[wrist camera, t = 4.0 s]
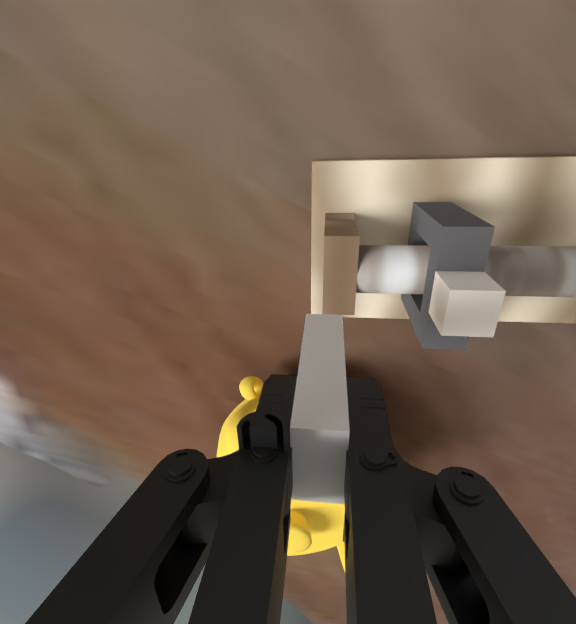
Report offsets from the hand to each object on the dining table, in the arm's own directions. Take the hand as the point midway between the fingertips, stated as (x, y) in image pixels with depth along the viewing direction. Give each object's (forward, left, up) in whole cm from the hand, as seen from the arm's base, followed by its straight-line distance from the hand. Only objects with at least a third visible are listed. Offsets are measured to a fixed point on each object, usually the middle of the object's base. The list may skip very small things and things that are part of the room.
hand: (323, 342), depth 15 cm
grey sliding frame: (+7, 0, -12) cm, 14 cm away
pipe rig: (+13, 0, -15) cm, 20 cm away
